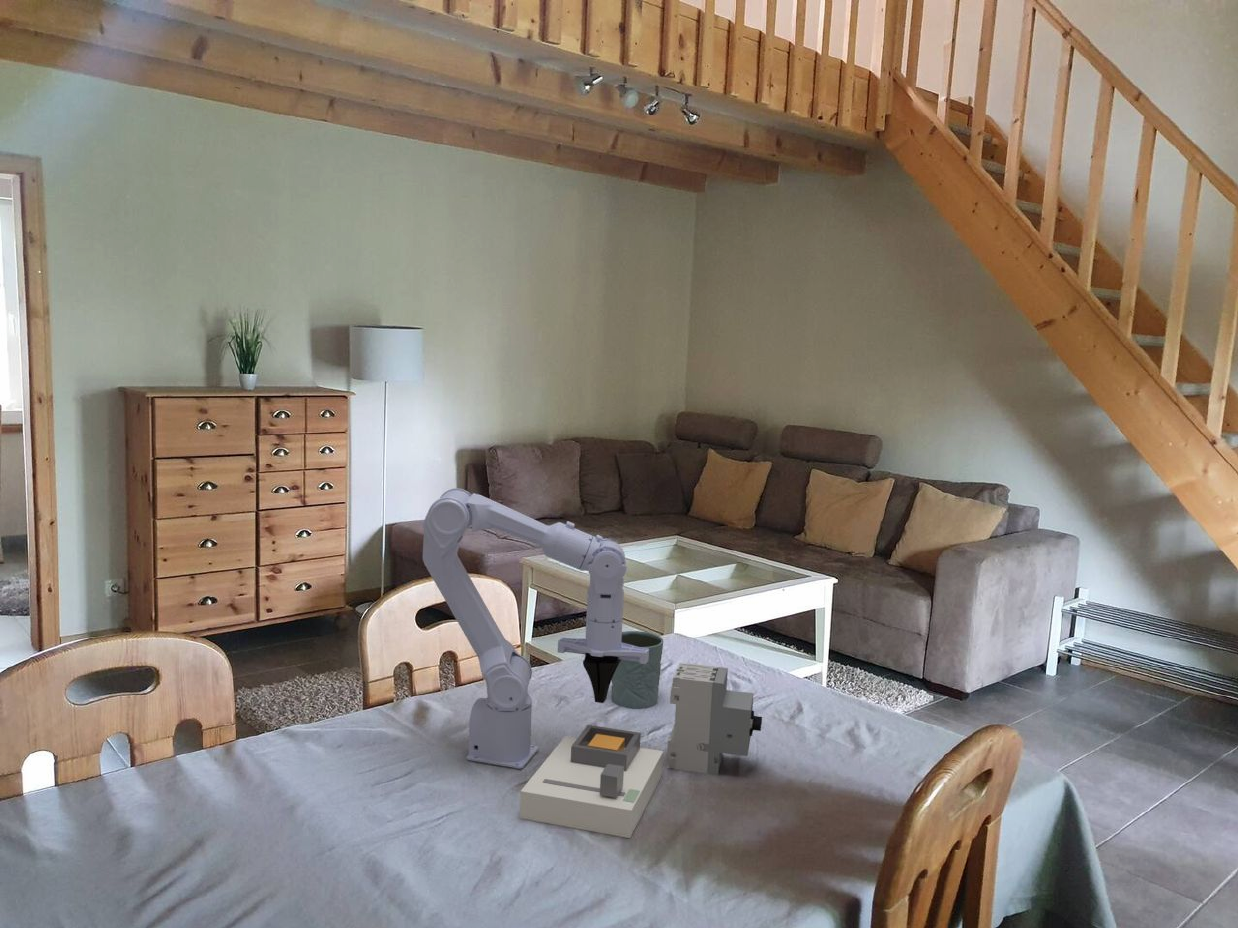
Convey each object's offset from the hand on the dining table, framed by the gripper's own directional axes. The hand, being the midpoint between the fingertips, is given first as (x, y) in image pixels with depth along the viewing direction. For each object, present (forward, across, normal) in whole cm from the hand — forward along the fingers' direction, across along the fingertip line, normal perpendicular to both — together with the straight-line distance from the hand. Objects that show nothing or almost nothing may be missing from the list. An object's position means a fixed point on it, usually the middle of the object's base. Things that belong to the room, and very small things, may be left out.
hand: (600, 700), depth 152 cm
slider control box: (+10, +3, -12) cm, 16 cm away
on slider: (+6, +7, -18) cm, 20 cm away
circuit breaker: (+10, +18, +5) cm, 21 cm away
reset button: (+6, +3, -6) cm, 9 cm away
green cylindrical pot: (+10, -1, +27) cm, 29 cm away
